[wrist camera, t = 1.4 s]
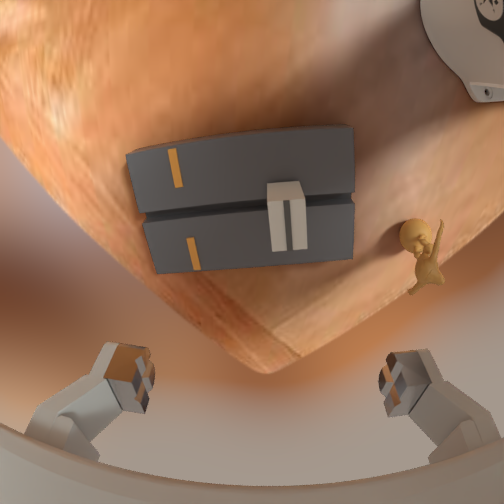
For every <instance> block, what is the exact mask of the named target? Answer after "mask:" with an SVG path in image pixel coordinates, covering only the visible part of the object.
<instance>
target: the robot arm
mask: <svg viewBox="0 0 504 504" xmlns="http://www.w3.org/2000/svg"><path fill="white" fill-rule="evenodd" d="M420 9H421V16H422V21H423V24H424V28H425V30H426V33H427V35H428V37H429V40H430V42H431V43H432V45H433V47H434V49H435V50H436V52H437V53H438V55H439V56H440V57H441V59H442V60H443V61H444V62H445V63H446V64H447V66H448V67H449V68H450V69H452V70H453V71H454V72H455V73H456V74H457V75H458V76H459V77H460V78H461V80H462V81H463V83H464V85H465V87H466V89H467V91H468V93H469V95H470V96H471V98H472V99H473V100H474V101H475V102H495V101H504V0H421V1H420ZM485 90H486V94H485ZM150 355H151V354H150V351H149V348H147V347H141V346H135V345H128V344H122V343H115V342H109V341H107V342H106V343H105V344H104V346H103V347H102V349H101V351H100V353H99V355H98V357H97V359H96V361H95V363H94V365H93V367H92V370H91V372H90V374H89V375H84V376H82V377H81V378H79V379H78V380H76V381H75V382H73V383H72V384H70V385H69V386H67V387H66V388H64V389H63V390H61V391H60V392H58V393H57V394H55V395H53V396H52V397H51V398H49V399H47V400H46V401H45V402H43V403H41V404H40V405H38V406H37V408H36V410H35V412H34V414H33V416H32V418H31V420H30V423H29V425H28V427H27V429H26V431H25V433H24V434H22V433H20V432H18V431H16V430H14V429H12V428H10V427H8V426H6V425H4V424H2V423H0V504H504V437H503V438H501V436H500V434H499V431H498V429H497V427H496V424H495V422H494V420H493V418H492V416H491V414H490V412H489V411H488V410H486V409H485V408H484V407H482V406H481V405H480V404H478V403H477V402H476V401H474V400H473V399H472V398H470V397H469V396H467V395H466V394H465V393H463V392H462V391H460V390H459V389H458V388H456V387H455V386H454V385H452V384H451V383H450V382H448V381H444V379H443V378H442V375H441V373H440V371H439V369H438V367H437V365H436V363H435V361H434V359H433V357H432V355H431V353H430V351H429V350H428V349H421V350H410V351H400V352H391V353H390V354H388V356H387V358H386V362H387V365H385V366H384V367H383V368H382V369H381V371H380V374H379V381H378V382H379V389H380V392H381V394H383V395H384V396H385V397H386V399H385V401H384V406H385V409H386V412H387V415H388V417H395V416H402V415H409V417H410V418H411V419H412V420H413V421H414V422H415V423H416V424H417V425H418V426H419V427H420V429H422V431H423V432H424V433H425V434H426V435H427V436H428V437H429V438H430V439H431V440H432V441H433V442H434V443H435V444H436V445H437V446H438V447H437V448H436V449H435V450H434V451H433V452H432V453H431V454H430V455H429V457H428V459H429V463H430V464H429V465H425V466H421V467H418V468H414V469H410V470H405V471H401V472H397V473H392V474H387V475H382V476H377V477H372V478H365V479H359V480H351V481H344V482H336V483H326V484H313V485H299V486H298V485H296V486H241V485H224V484H212V483H202V482H194V481H185V480H179V479H172V478H166V477H160V476H154V475H150V474H145V473H140V472H136V471H131V470H127V469H123V468H119V467H115V466H111V465H108V464H104V463H100V462H98V459H99V456H100V455H99V452H98V451H97V450H96V449H95V447H94V446H93V445H92V444H91V443H90V442H91V440H93V439H94V438H95V437H96V436H97V435H98V434H99V433H100V432H101V431H102V430H104V428H106V427H107V426H108V425H109V424H110V423H111V422H112V421H113V420H114V419H115V418H116V417H117V416H119V414H121V413H122V410H123V411H129V412H135V413H142V414H145V412H146V409H147V405H148V402H149V396H148V394H147V393H148V392H149V391H150V390H151V389H152V388H153V385H154V379H155V369H154V365H153V363H152V362H151V361H150V360H149V358H150Z"/></svg>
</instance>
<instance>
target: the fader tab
mask: <svg viewBox="0 0 504 504" xmlns="http://www.w3.org/2000/svg"><path fill="white" fill-rule="evenodd" d="M267 205H268V215H269V224H270V234H271V244H272V252H275V251H293V250H300V249H307V224H306V203H305V196H304V194H303V191H302V188H301V185H300V182H299V181H290V182H278V183H267Z"/></svg>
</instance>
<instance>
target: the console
mask: <svg viewBox="0 0 504 504" xmlns="http://www.w3.org/2000/svg"><path fill="white" fill-rule="evenodd" d="M126 160H127V164H128V169H129V173H130V178H131V182H132V186H133V190H134V194H135V198H136V202H137V206H138V210H139V213H146V216H147V218H146V220H145V221H144V222H143V223H142V225H143V228H144V232H145V235H146V239H147V242H148V246H149V249H150V253H151V256H152V259H153V262H154V266H155V269H156V272H157V274H166V273H180V272H195V271H209V270H223V269H237V268H250V267H263V266H276V265H288V264H301V263H313V262H325V261H336V260H348V259H353V244H354V213H355V204H354V202H353V201H352V199H351V193H352V192H355V162H354V131H353V128H352V127H350V126H348V125H346V124H342V125H314V126H297V127H283V128H271V129H260V130H251V131H242V132H234V133H226V134H218V135H211V136H204V137H198V138H192V139H186V140H180V141H174V142H169V143H163V144H158V145H153V146H148V147H143V148H139V149H136V150H134V151H132V152H130V153H128V154H126ZM290 181H299V182H300V185H301V188H302V191H303V194H304V196H305V203H306V224H307V249H300V250H293V251H275V252H272V244H271V234H270V224H269V215H268V205H267V183H278V182H290Z"/></svg>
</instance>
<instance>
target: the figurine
mask: <svg viewBox="0 0 504 504" xmlns="http://www.w3.org/2000/svg"><path fill="white" fill-rule="evenodd" d="M440 220H441V219H440ZM443 228H444V223H443V221H442V220H441V224H440V227H439V230H438V232H437V236H436V239H435V242H434V245H433V244H430V243H431V240H432V233H431V229H430V227H429V226H428V224H427V223H426V222H425V221H423V220H421V219H416V218H415V219H410V220H408V221H406V222H405V223H404V224H403V225H402V227H401V229H400V233H399V238H400V242H401V244H402V246H403V247H404V248H405V249H406V250H407V251H409V252H411V253H414V257H415V258H416V259H417V262H416V267H415V275H416V278H417V280H418V281H417V283H416V284H415V286H414V287H413V288H412V289H411V290H410V289H409V290H408V289H407V290H408V293H409V294H410V295H413V294H415V293H416V292H417V291H418V290H419V289H420V288H422V287H423V286H425V285H426V284H429V283H432V284H437V285H442V284H444V282H445V279H444V277H443V275H442V274H441V272H440V271H439V269H438V262H437V255H438V251H439V246H440V240H441V235H442V232H443ZM421 252H422V254H420V253H421ZM429 256H430V257H429Z"/></svg>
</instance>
